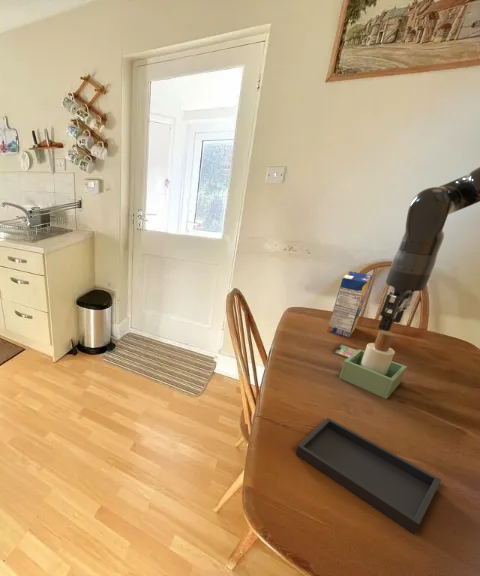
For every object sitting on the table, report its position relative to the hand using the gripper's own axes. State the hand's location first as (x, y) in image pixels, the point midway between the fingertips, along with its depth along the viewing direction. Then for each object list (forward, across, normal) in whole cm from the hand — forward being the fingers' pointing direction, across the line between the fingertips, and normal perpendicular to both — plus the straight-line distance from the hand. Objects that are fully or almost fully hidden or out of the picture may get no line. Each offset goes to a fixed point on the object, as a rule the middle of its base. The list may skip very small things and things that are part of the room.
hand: (389, 325), depth 85 cm
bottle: (+18, 0, 0) cm, 18 cm away
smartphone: (+19, +13, +5) cm, 24 cm away
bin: (+19, 0, 0) cm, 19 cm away
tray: (+19, -36, -10) cm, 42 cm away
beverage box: (+19, +31, +18) cm, 41 cm away
